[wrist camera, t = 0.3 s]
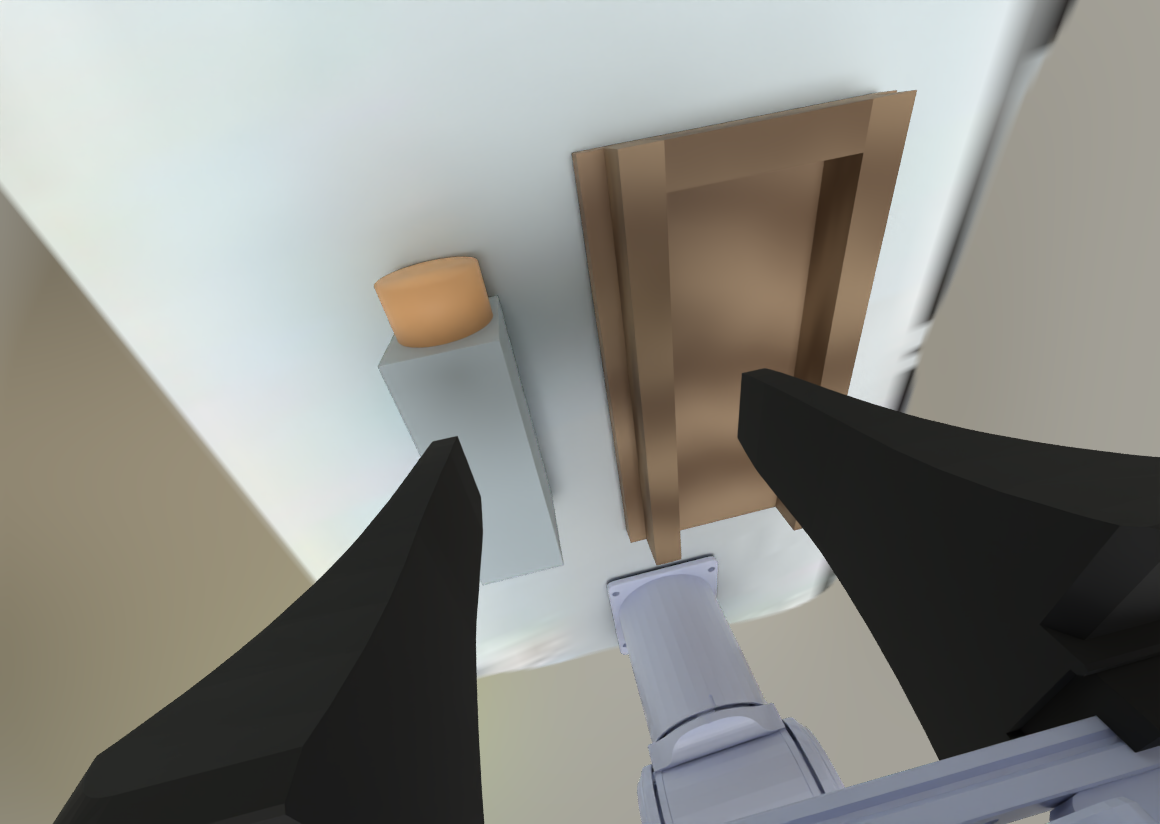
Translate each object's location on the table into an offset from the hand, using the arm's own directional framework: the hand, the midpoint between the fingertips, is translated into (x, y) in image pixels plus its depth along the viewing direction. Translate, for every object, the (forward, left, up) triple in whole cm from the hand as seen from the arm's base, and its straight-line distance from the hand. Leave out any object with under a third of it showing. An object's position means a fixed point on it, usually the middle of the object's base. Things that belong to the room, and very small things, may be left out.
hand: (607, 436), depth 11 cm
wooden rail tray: (-5, -8, -10) cm, 13 cm away
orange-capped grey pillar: (-5, +4, -10) cm, 12 cm away
